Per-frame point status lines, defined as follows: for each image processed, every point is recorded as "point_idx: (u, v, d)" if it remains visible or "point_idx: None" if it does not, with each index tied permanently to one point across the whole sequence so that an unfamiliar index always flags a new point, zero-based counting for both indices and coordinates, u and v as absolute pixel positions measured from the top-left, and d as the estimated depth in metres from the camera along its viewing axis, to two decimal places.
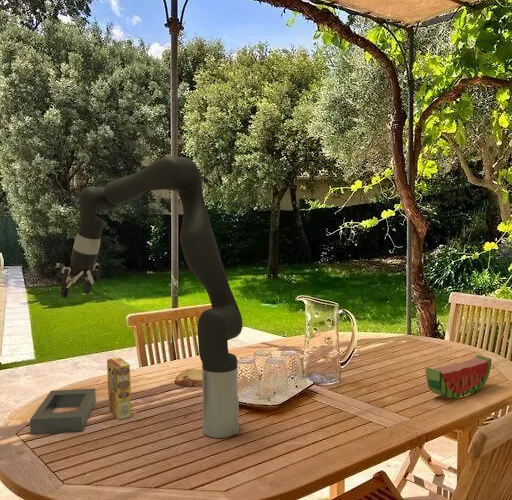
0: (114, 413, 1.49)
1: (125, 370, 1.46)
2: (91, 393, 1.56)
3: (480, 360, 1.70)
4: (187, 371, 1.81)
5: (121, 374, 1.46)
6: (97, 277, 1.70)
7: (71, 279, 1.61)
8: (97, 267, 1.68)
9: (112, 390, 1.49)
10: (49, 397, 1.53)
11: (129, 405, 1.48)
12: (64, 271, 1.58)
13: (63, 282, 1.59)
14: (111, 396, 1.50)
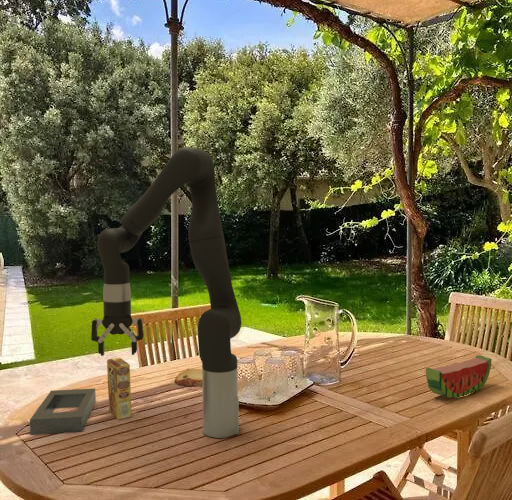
0: (114, 413, 1.49)
1: (125, 370, 1.46)
2: (91, 393, 1.56)
3: (480, 360, 1.70)
4: (187, 371, 1.82)
5: (121, 374, 1.46)
6: (139, 334, 1.49)
7: (103, 333, 1.47)
8: None
9: (112, 390, 1.49)
10: (49, 397, 1.53)
11: (129, 405, 1.48)
12: (92, 323, 1.47)
13: (92, 335, 1.47)
14: (111, 396, 1.50)
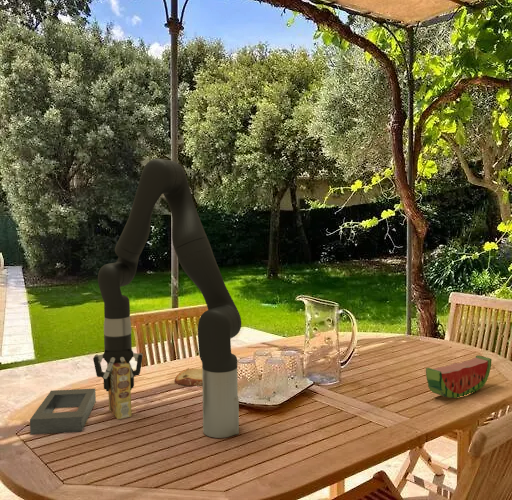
0: (114, 413, 1.49)
1: (125, 370, 1.46)
2: (91, 393, 1.56)
3: (480, 360, 1.70)
4: (187, 370, 1.82)
5: (121, 374, 1.46)
6: (137, 369, 1.49)
7: None
8: (138, 357, 1.50)
9: (112, 390, 1.49)
10: (49, 397, 1.53)
11: (129, 405, 1.48)
12: None
13: (97, 372, 1.48)
14: (111, 396, 1.50)
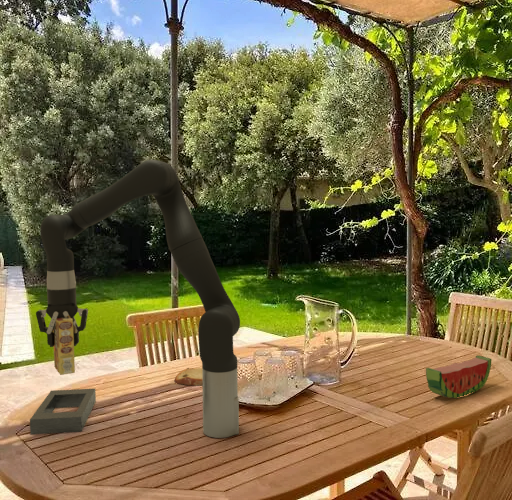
0: (57, 369, 1.46)
1: (68, 324, 1.43)
2: (91, 393, 1.56)
3: (480, 360, 1.70)
4: (187, 370, 1.83)
5: (63, 328, 1.43)
6: (81, 325, 1.46)
7: None
8: (82, 312, 1.46)
9: (56, 346, 1.46)
10: (49, 397, 1.53)
11: (72, 361, 1.45)
12: None
13: (40, 326, 1.45)
14: (55, 352, 1.47)
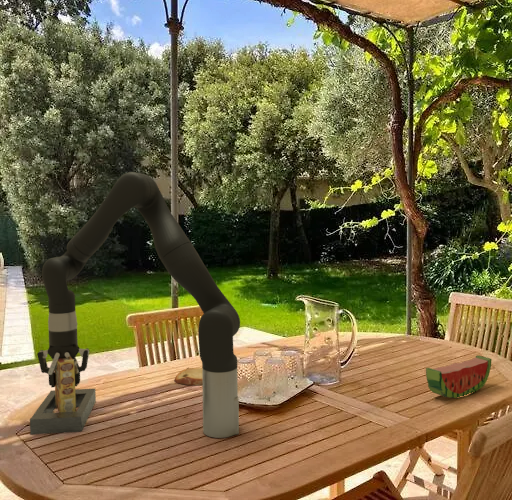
0: (59, 409, 1.47)
1: (69, 366, 1.44)
2: (91, 393, 1.56)
3: (480, 360, 1.70)
4: (187, 370, 1.83)
5: (65, 370, 1.44)
6: (83, 365, 1.47)
7: (51, 364, 1.46)
8: None
9: (57, 386, 1.47)
10: (49, 397, 1.53)
11: (73, 401, 1.45)
12: None
13: (41, 367, 1.46)
14: (56, 392, 1.48)
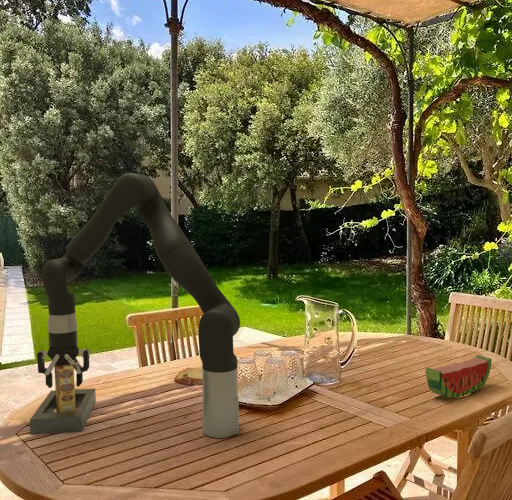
0: None
1: (69, 373, 1.44)
2: (91, 393, 1.56)
3: (480, 360, 1.70)
4: (187, 369, 1.83)
5: (64, 377, 1.44)
6: (85, 365, 1.47)
7: (49, 365, 1.46)
8: None
9: (57, 393, 1.47)
10: (49, 397, 1.53)
11: (73, 408, 1.45)
12: None
13: (39, 367, 1.46)
14: (57, 399, 1.48)
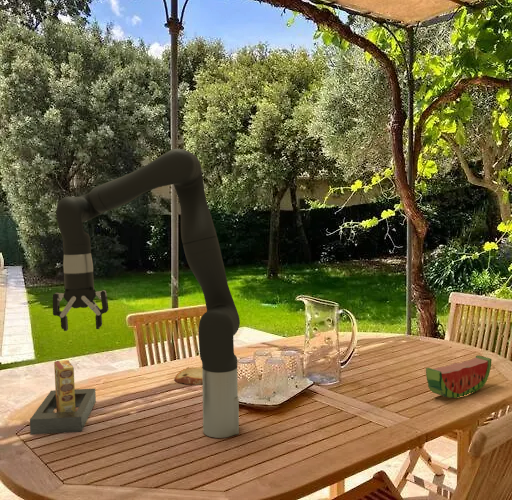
0: None
1: (68, 373, 1.44)
2: (91, 393, 1.56)
3: (480, 360, 1.70)
4: (187, 369, 1.83)
5: (64, 377, 1.44)
6: (103, 307, 1.42)
7: (65, 307, 1.41)
8: (100, 294, 1.42)
9: (57, 393, 1.47)
10: (49, 397, 1.53)
11: (73, 408, 1.45)
12: None
13: (54, 310, 1.41)
14: (57, 399, 1.48)
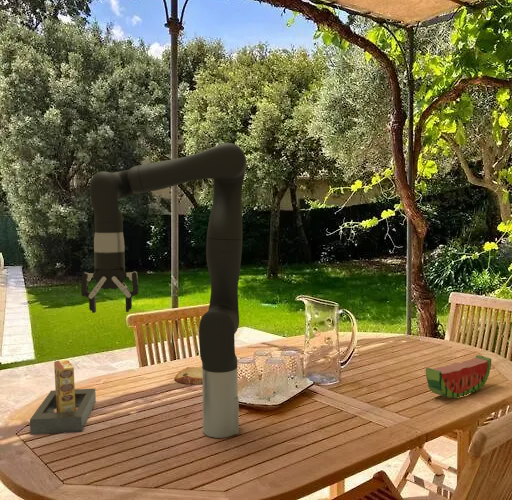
0: None
1: (68, 373, 1.44)
2: (91, 393, 1.56)
3: (479, 360, 1.70)
4: (187, 369, 1.84)
5: (64, 377, 1.44)
6: (134, 289, 1.36)
7: None
8: (132, 275, 1.36)
9: (57, 393, 1.47)
10: (49, 397, 1.53)
11: (73, 408, 1.45)
12: (82, 276, 1.34)
13: (82, 290, 1.34)
14: (57, 399, 1.48)
